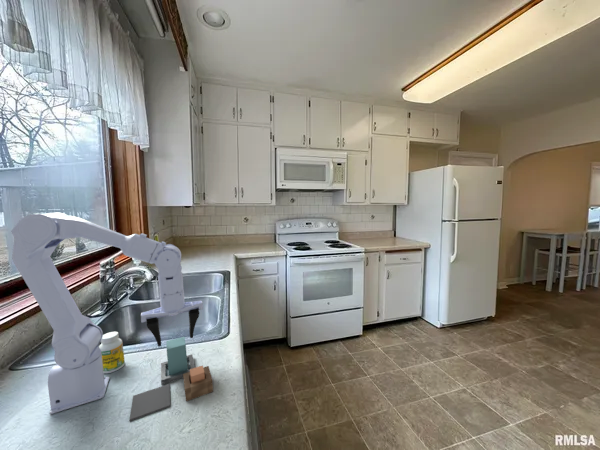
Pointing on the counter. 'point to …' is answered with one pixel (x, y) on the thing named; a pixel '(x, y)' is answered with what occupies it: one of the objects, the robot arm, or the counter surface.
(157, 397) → the rubber mat
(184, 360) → the pale teal upright block
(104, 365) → the supplement bottle
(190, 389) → the housing
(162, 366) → the holder collar
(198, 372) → the orange block
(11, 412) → the counter surface
